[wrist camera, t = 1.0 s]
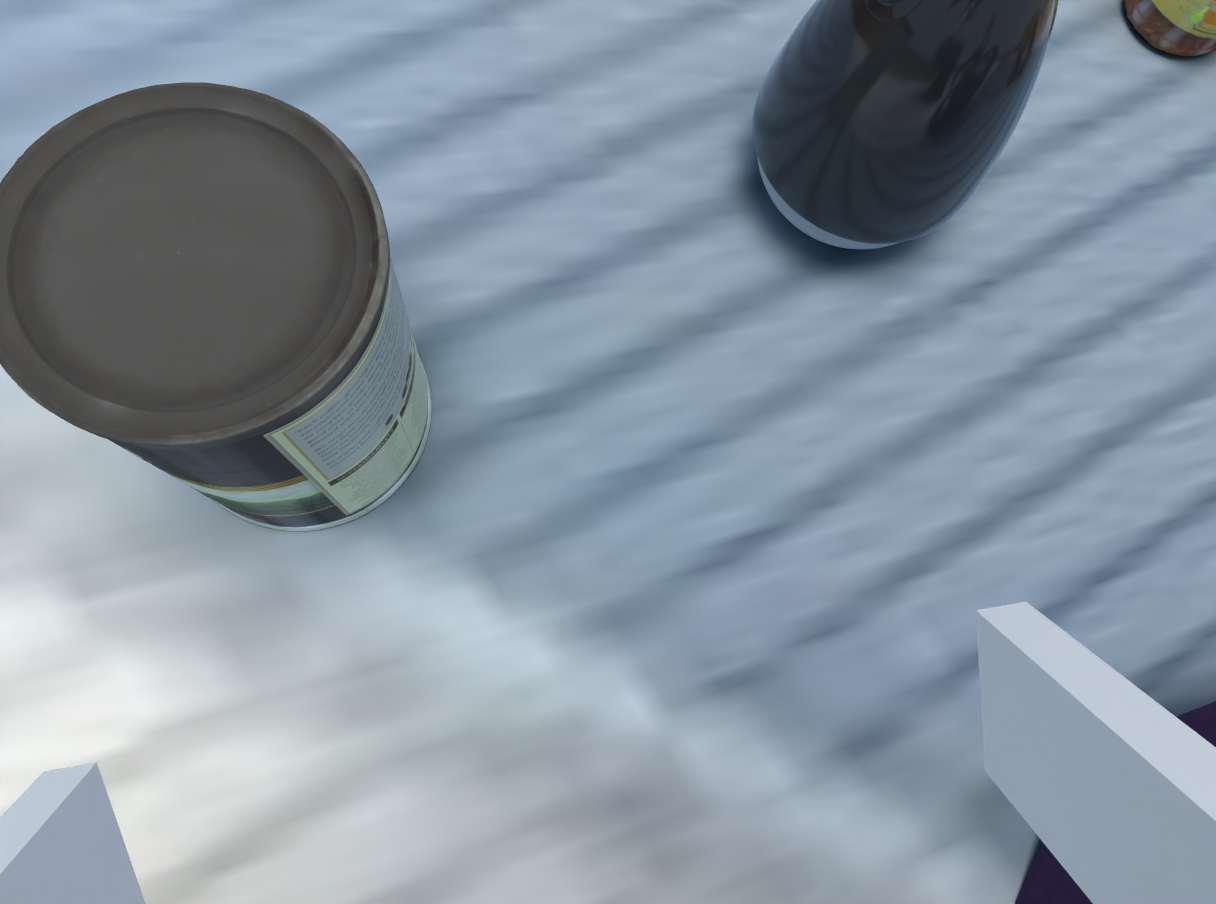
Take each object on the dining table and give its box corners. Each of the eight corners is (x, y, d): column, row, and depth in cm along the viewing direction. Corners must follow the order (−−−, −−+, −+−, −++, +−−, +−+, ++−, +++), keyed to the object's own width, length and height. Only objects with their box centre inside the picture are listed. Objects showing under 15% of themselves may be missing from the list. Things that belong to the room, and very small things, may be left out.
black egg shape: (706, 103, 42) (808, -207, 27) (906, 81, 43) (1105, -224, 29) (755, 296, 39) (897, 72, 25) (965, 266, 41) (1215, 37, 26)
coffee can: (228, 575, 34) (36, 509, 20) (145, 348, 36) (-80, 149, 22) (473, 474, 36) (447, 352, 22) (382, 264, 38) (307, 34, 24)
